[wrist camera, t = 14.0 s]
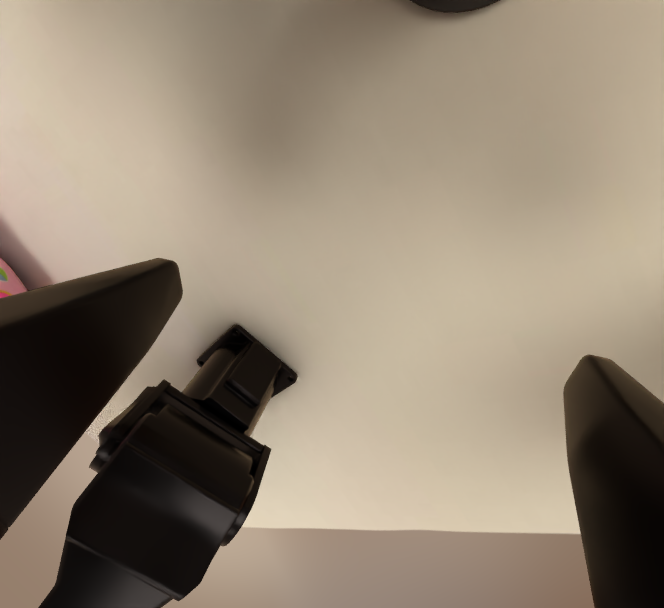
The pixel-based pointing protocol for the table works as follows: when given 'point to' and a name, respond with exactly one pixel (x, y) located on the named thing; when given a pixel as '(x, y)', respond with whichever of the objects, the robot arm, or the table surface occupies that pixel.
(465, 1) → the coaster
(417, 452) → the table surface
